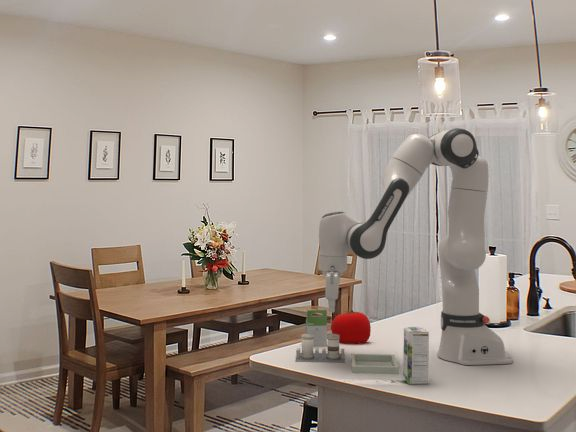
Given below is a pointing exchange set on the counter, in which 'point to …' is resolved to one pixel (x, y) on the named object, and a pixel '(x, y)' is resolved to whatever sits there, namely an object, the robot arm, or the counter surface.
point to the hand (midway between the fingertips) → (332, 309)
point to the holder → (308, 353)
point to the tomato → (351, 327)
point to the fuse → (333, 346)
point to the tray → (374, 369)
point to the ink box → (317, 327)
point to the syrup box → (416, 355)
